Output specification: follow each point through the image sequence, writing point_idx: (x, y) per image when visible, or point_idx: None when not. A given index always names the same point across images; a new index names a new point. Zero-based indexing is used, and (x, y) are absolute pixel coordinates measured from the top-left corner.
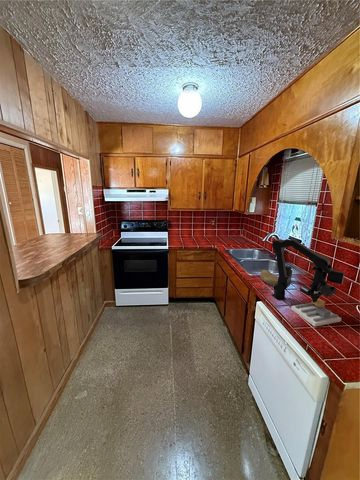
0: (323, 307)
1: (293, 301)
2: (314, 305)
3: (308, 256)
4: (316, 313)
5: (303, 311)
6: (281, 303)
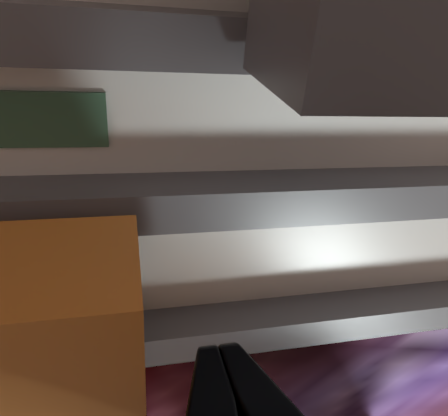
0: (344, 19)
1: None
2: None
3: None
4: None
5: None
6: (426, 378)
